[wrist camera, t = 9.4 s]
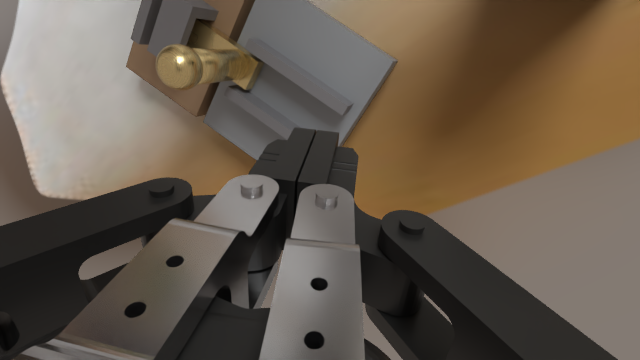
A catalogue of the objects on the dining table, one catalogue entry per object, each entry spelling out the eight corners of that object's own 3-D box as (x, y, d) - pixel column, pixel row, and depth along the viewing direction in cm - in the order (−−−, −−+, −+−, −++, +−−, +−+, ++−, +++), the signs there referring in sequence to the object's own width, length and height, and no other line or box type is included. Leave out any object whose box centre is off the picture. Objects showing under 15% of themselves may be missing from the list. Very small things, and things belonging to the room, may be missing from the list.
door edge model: (397, 60, 35) (386, 62, 28) (315, 186, 41) (292, 210, 35) (191, -76, 37) (138, -103, 30) (145, 65, 44) (95, 67, 37)
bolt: (265, 60, 35) (194, 62, 25) (251, 90, 37) (178, 103, 27) (192, 9, 36) (95, -7, 26) (181, 41, 38) (85, 37, 28)
